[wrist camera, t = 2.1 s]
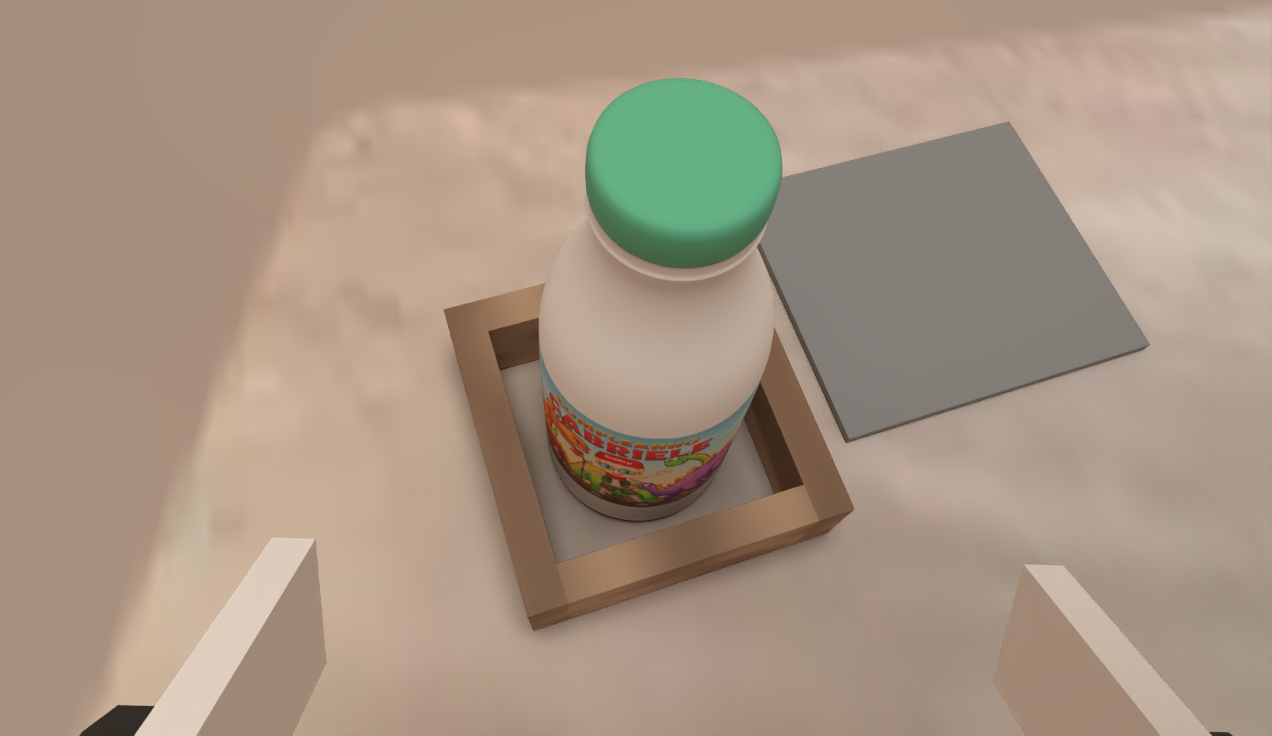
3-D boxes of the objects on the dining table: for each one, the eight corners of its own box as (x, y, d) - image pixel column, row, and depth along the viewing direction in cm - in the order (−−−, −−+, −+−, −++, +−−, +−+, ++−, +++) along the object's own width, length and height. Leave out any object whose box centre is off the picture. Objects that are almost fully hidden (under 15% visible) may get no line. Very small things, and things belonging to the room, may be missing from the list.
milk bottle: (553, 356, 39) (528, 12, 20) (719, 363, 39) (840, 30, 21) (543, 522, 36) (502, 288, 17) (724, 527, 36) (871, 304, 18)
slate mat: (1005, 127, 46) (1009, 121, 45) (1143, 349, 41) (1149, 344, 40) (734, 195, 43) (735, 188, 43) (846, 442, 38) (849, 439, 37)
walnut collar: (719, 280, 41) (733, 234, 37) (826, 532, 36) (854, 509, 32) (456, 350, 39) (443, 309, 35) (533, 630, 34) (527, 617, 30)
